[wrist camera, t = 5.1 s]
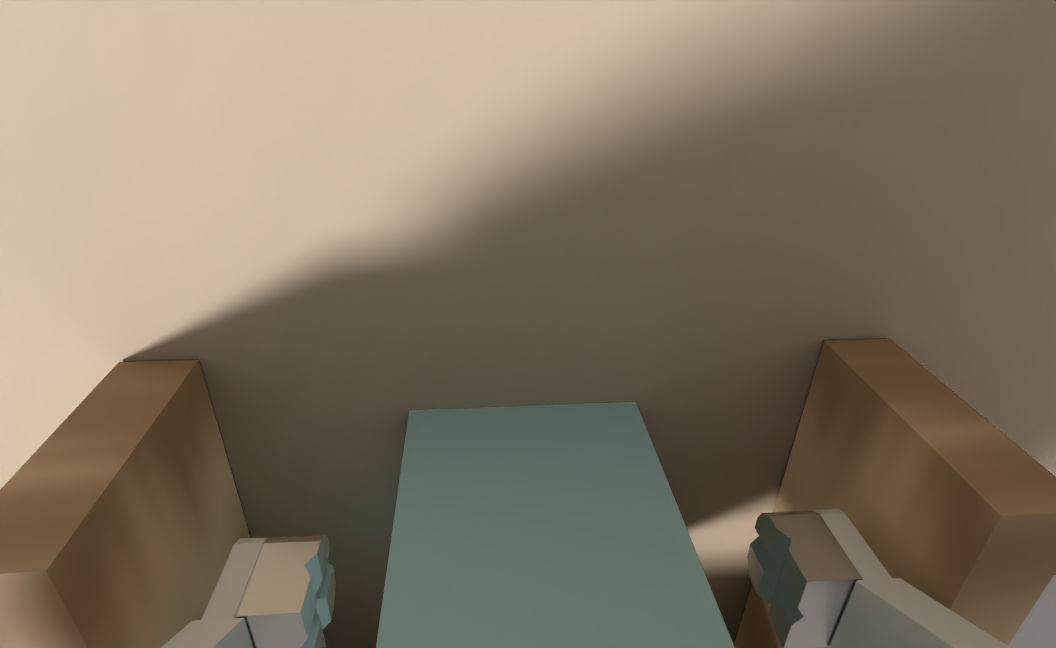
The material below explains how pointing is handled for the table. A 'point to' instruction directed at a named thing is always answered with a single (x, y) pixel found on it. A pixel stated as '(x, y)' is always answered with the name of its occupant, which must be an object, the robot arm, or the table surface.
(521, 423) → the block
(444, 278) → the table surface
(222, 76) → the table surface
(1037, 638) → the pad
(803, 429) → the wooden u-shaped holder
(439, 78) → the table surface
